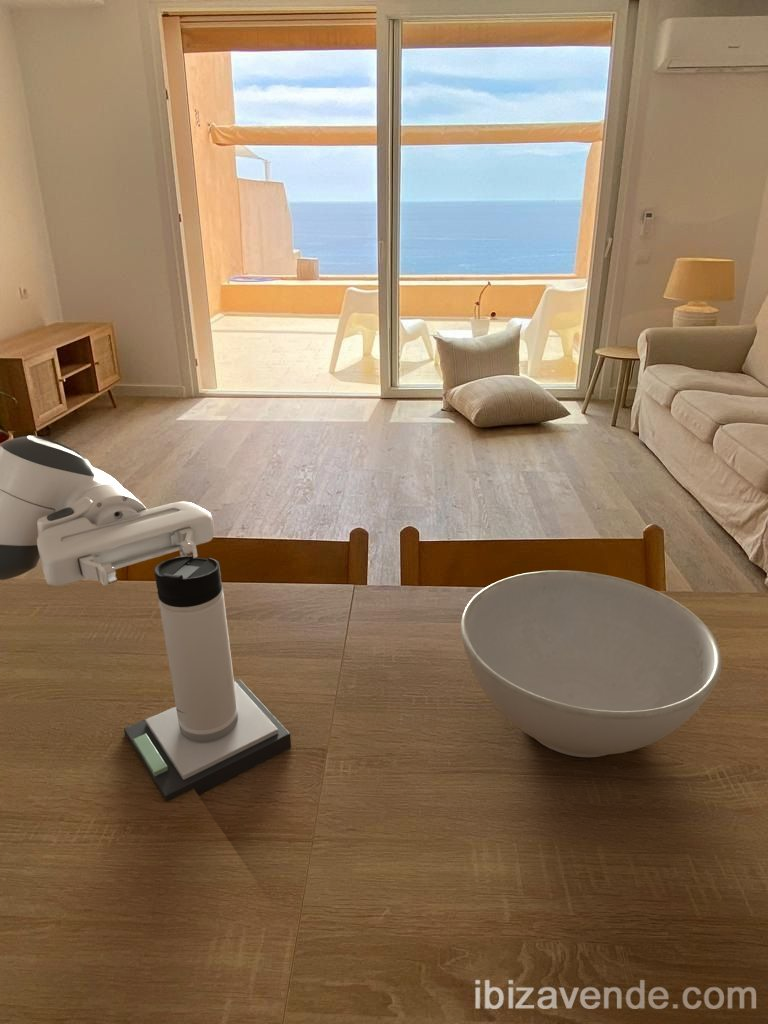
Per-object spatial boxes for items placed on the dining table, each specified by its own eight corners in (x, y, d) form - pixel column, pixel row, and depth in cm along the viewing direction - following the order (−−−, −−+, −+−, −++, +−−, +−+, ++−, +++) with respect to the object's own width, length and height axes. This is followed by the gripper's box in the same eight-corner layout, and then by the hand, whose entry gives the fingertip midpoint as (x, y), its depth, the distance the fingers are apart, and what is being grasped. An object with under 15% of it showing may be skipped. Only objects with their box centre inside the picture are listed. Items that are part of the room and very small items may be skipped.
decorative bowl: (508, 628, 96) (513, 551, 91) (717, 691, 84) (737, 605, 79) (415, 749, 75) (417, 657, 70) (676, 856, 63) (699, 754, 58)
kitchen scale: (167, 811, 68) (164, 791, 67) (126, 742, 77) (122, 723, 76) (291, 747, 76) (290, 729, 75) (241, 691, 84) (239, 674, 83)
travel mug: (167, 740, 73) (137, 575, 65) (196, 700, 79) (173, 543, 71) (221, 749, 72) (199, 582, 64) (247, 708, 78) (229, 550, 70)
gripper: (192, 525, 96) (237, 562, 86) (33, 569, 85) (64, 618, 75) (186, 482, 93) (232, 516, 83) (22, 522, 82) (52, 567, 72)
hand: (151, 565), depth 79 cm, fingers open, 8 cm apart
